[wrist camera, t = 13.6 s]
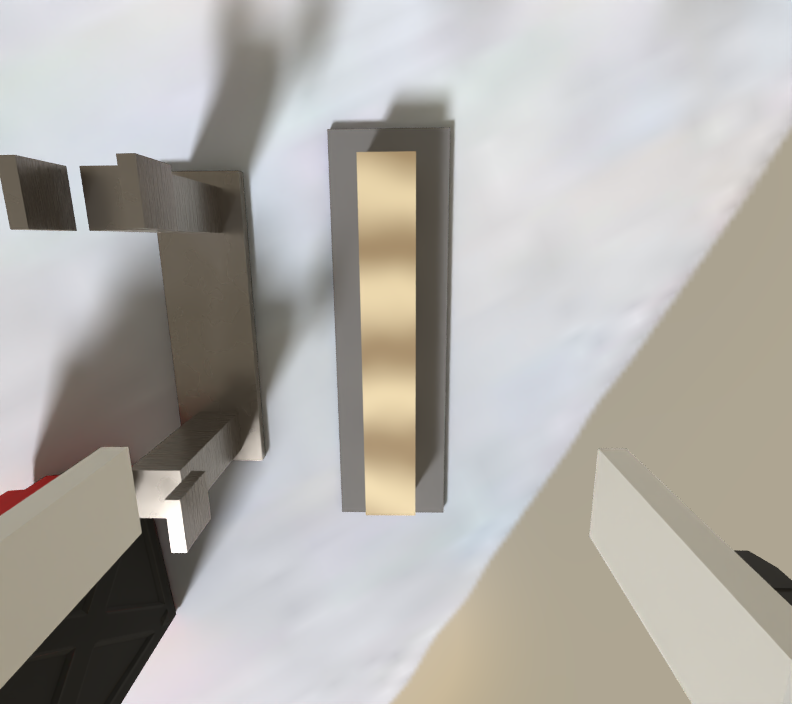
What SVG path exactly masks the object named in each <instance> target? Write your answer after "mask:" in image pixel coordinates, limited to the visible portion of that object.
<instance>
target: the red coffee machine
mask: <svg viewBox="0 0 792 704" xmlns="http://www.w3.org/2000/svg"><path fill="white" fill-rule="evenodd" d="M131 467H132V466H131ZM58 476H60V475H53V476H45V477H44V478H42V479H41V480H39V481H38V482H36V483H35V484H33V485H31V486H30V487H28V488H27V489H25V490H14V491H7V492H6V493H4V494H2V495H1V496H0V516H1V515H2V514H4V513H5V512H7V511H8V510H9V509H11V508H12V507H14V506H15V505H17V504H18V503H20V502H21V501H23V500H24V499H26V498H27V497H29V496H30V495H32V494H33V493H35V492H36V491H37V490H39V489H40V488H42V487H43V486H45V485H46V484H48V483H49V482H51V481H52V480H54V479H55V478H57V477H58ZM140 525H141V531H142V533H141V534H140V535H139V537H138V538H137V539H136V540H135V541H134V542H133V543H132V544H131V545H130V547H129V548H128V549H127V550H126V551H125V552H124V553H123V554H122V555H121V556H120V558H119V559H118V560H117V561H116V562H115V563H114V564H113V565H112V566H111V567H110V569H109V570H108V571H107V572H106V573H105V574H104V575H103V576H102V577H101V579H100V580H99V581H98V582H97V583H96V584H95V585H94V586H93V587H92V588H91V590H90V591H89V592H88V593H87V594H86V595H85V596H84V597H83V598H82V600H81V601H80V602H79V603H78V604H77V605H76V606H75V607H74V608H73V609H72V611H71V612H70V613H69V614H68V615H67V616H66V617H65V618H64V619H63V620H62V622H61V623H60V624H59V625H58V626H57V627H56V628H55V629H54V630H53V632H52V633H51V634H50V635H49V636H48V637H47V638H46V639H45V640H44V641H43V643H42V644H41V645H40V646H39V647H38V648H37V649H36V650H35V651H34V653H33V654H32V655H31V656H30V657H29V658H28V659H27V660H26V661H25V662H24V664H23V665H22V666H21V667H20V668H19V669H18V670H17V671H16V672H15V673H14V675H13V676H12V677H11V678H10V679H9V680H8V681H7V682H6V683H5V685H4V686H3V687H2V688H1V689H0V704H121V703H122V701H123V699H124V698H125V696H126V695H127V693H128V691H129V690H130V688H131V686H132V685H133V683H134V682H135V680H136V678H137V677H138V675H139V674H140V672H141V670H142V669H143V667H144V665H145V664H146V662H147V661H148V659H149V657H150V656H151V654H152V653H153V651H154V649H155V648H156V646H157V644H158V643H159V641H160V640H161V638H162V636H163V635H164V633H165V631H166V630H167V628H168V627H169V625H170V623H171V622H172V620H173V619H174V617H175V615H176V612H175V607H174V603H173V599H172V595H171V590H170V586H169V582H168V578H167V573H166V569H165V565H164V560H163V556H162V552H161V548H160V543H159V539H158V535H157V530H156V526H155V522H154V518H140Z"/></svg>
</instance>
